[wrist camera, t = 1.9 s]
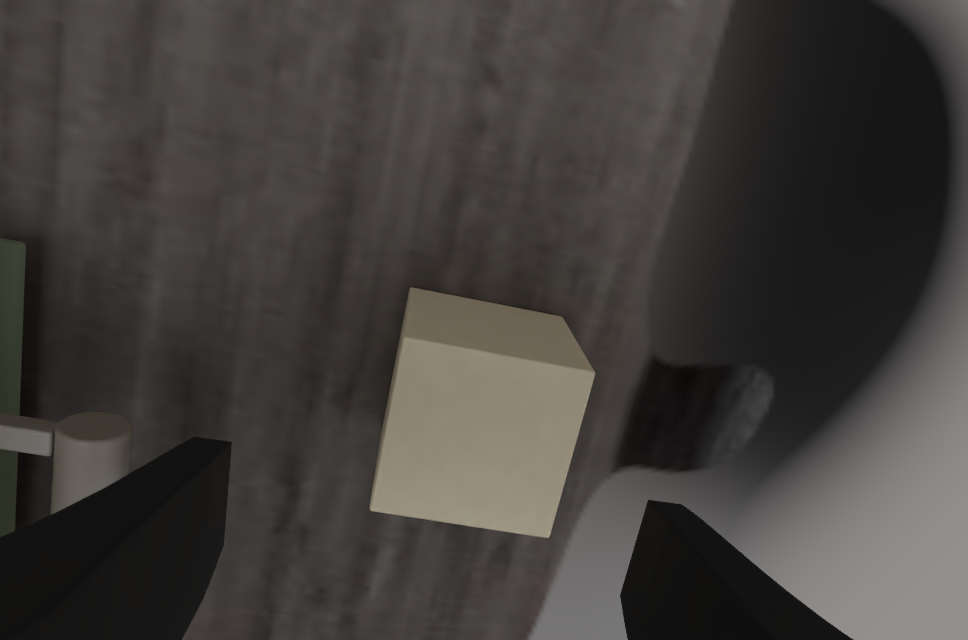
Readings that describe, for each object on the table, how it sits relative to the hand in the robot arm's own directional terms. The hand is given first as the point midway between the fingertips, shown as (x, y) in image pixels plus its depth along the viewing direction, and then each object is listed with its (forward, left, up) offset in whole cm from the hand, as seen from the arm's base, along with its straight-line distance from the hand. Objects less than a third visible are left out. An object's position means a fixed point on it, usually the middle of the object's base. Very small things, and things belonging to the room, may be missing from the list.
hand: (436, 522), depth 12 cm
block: (-1, +1, -9) cm, 9 cm away
